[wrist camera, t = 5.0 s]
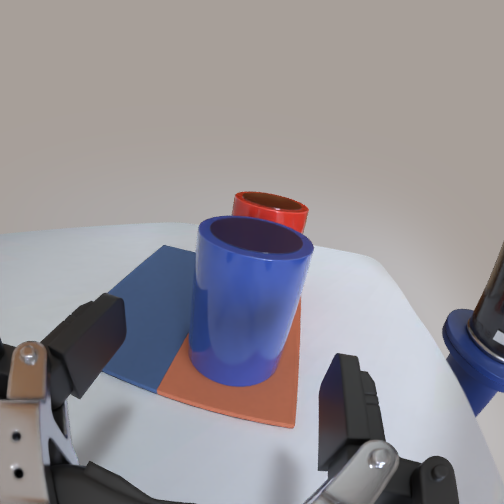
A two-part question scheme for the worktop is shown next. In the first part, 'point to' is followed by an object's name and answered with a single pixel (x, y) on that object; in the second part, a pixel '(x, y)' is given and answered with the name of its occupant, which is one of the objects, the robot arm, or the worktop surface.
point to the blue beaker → (244, 297)
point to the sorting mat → (176, 346)
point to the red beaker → (271, 209)
